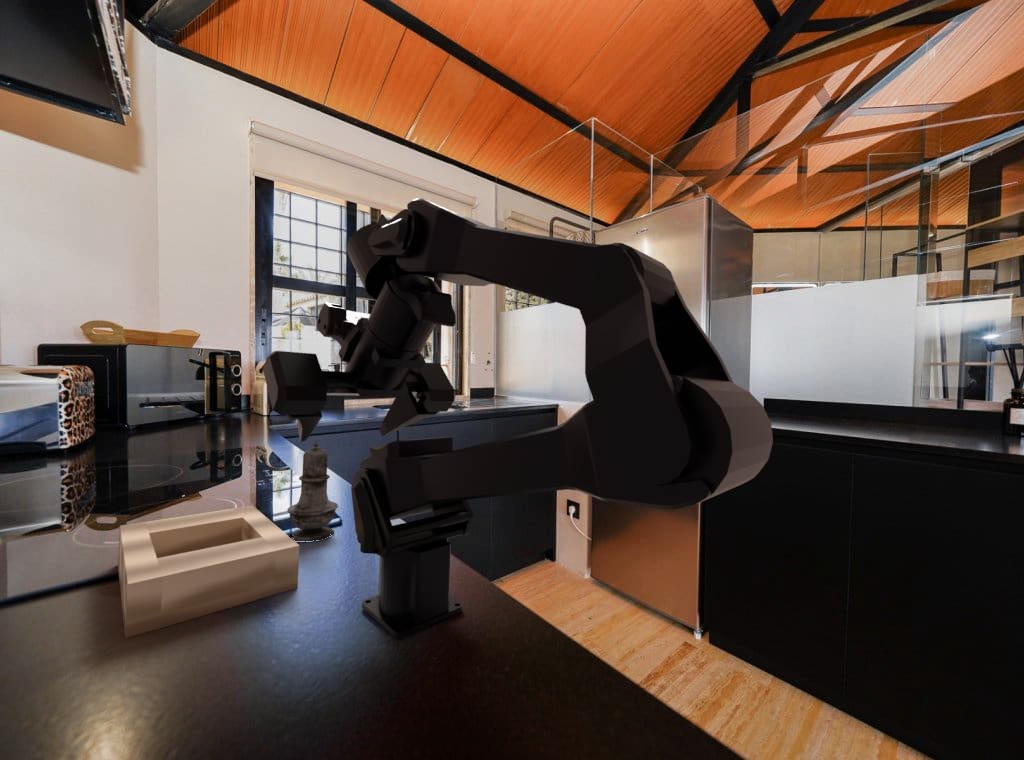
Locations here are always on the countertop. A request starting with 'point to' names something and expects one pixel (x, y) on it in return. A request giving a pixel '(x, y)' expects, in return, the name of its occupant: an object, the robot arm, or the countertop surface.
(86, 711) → the countertop surface
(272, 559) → the socket board
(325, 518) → the salt shaker
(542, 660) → the countertop surface
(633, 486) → the robot arm
